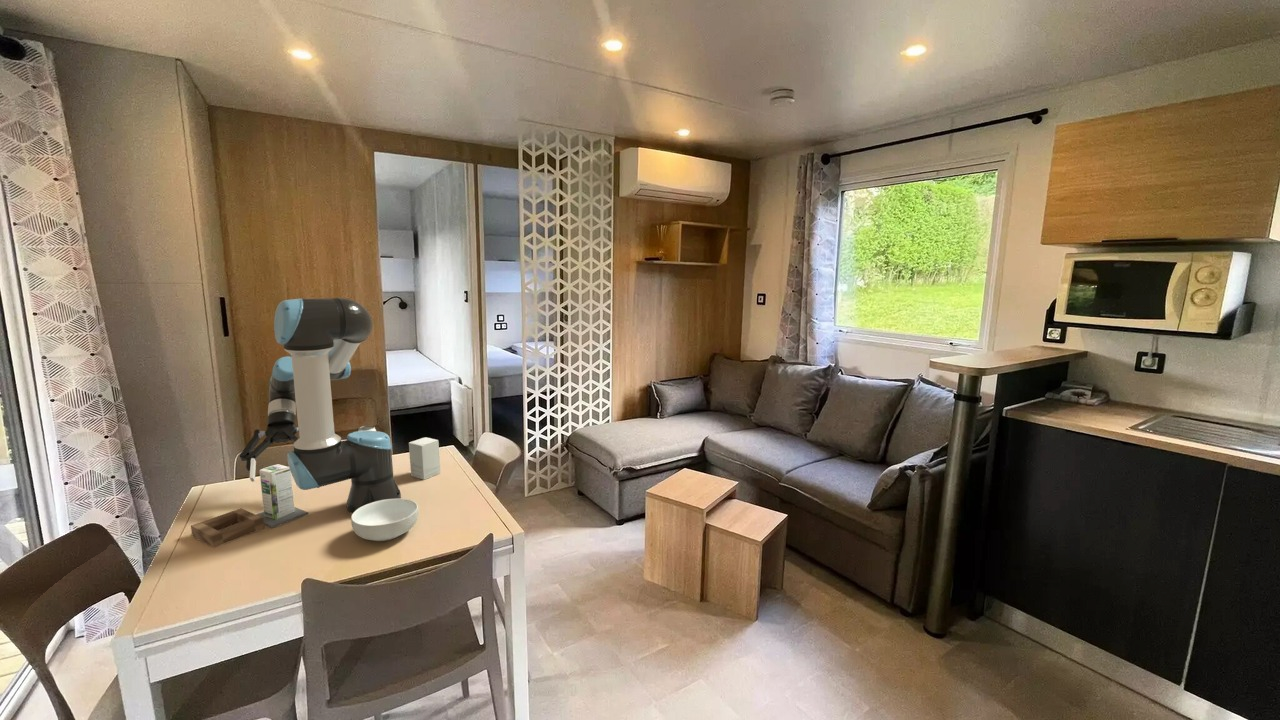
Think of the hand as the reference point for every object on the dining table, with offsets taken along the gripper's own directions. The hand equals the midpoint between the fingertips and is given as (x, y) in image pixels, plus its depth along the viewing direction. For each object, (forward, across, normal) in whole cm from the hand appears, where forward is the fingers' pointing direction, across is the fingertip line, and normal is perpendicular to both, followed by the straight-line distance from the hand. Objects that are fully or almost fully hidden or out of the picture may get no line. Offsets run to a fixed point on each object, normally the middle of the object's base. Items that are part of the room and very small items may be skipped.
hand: (279, 476), depth 158 cm
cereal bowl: (+30, -28, +16) cm, 45 cm away
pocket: (+16, +11, +2) cm, 19 cm away
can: (-18, -23, -33) cm, 45 cm away
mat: (+12, 0, -2) cm, 12 cm away
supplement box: (+2, -42, -13) cm, 44 cm away
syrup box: (+12, 0, -2) cm, 12 cm away
